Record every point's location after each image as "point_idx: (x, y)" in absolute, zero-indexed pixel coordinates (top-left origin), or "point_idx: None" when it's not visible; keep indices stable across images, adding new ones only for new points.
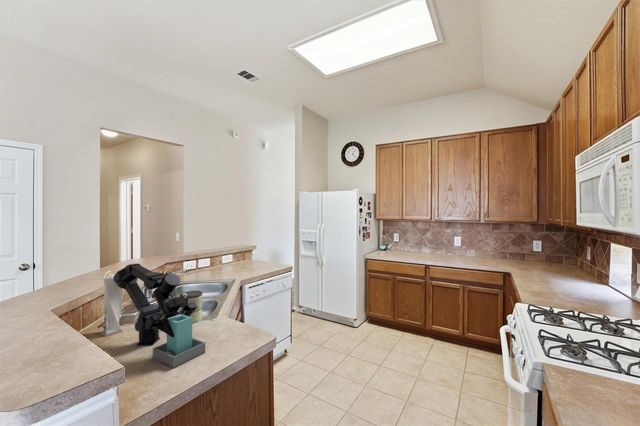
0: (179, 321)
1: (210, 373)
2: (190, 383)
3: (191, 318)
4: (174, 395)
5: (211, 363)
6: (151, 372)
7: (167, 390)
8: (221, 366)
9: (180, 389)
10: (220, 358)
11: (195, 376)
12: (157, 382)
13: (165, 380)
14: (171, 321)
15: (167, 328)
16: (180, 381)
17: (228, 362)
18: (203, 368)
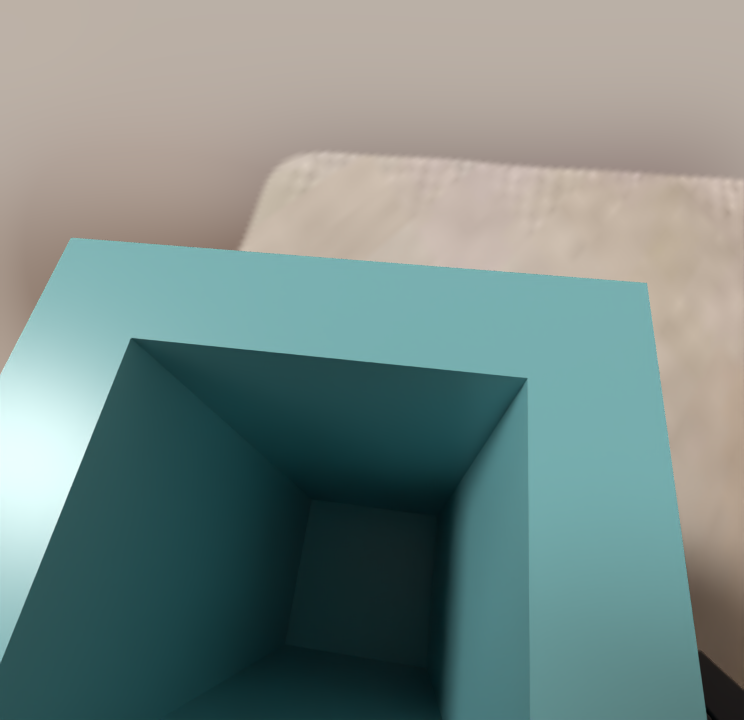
0: (504, 317)
1: (454, 169)
2: (588, 189)
3: (112, 253)
4: (710, 179)
5: (361, 237)
6: (703, 557)
7: (718, 243)
8: (364, 167)
9: (658, 192)
10: (283, 231)
11: (524, 215)
12: (728, 371)
13: (675, 341)
14: (691, 669)
15: (713, 678)
16: (614, 249)
17: (309, 163)
18: (432, 237)
